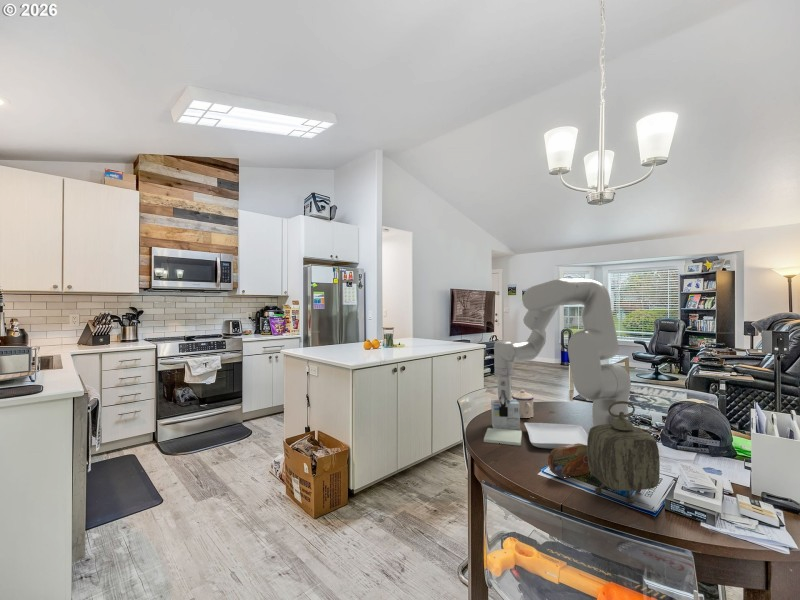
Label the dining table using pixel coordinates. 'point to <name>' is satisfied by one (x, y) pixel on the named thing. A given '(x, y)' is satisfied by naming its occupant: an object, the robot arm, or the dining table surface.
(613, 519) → the dining table surface
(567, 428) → the salad plate
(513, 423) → the light bulb box
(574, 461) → the tin
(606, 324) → the robot arm
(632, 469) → the tabletop clock
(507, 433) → the sage mat
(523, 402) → the teacup with lid
